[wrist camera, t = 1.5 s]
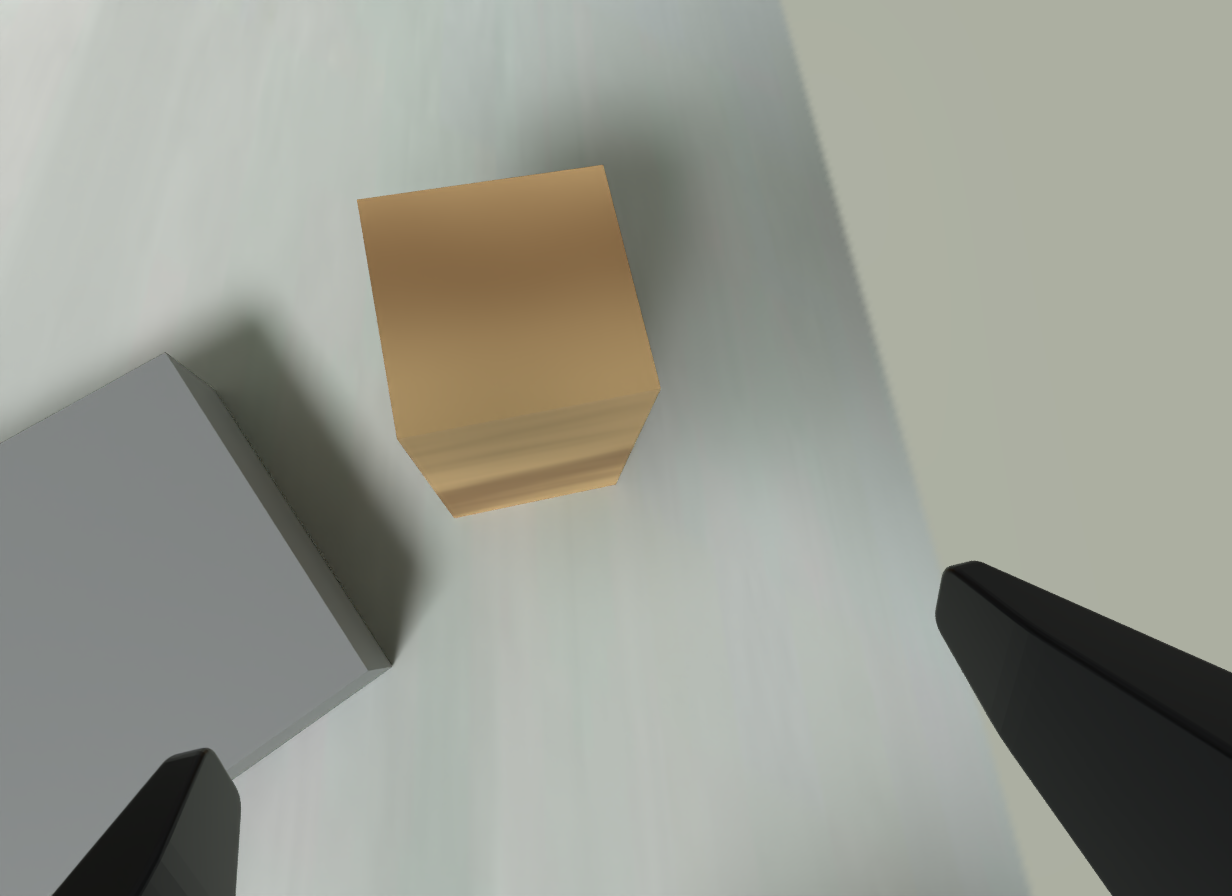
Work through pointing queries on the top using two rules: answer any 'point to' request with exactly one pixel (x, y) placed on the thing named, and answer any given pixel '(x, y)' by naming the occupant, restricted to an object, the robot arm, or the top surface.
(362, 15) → the top surface
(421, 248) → the caramel block
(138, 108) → the top surface
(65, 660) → the gray plinth
